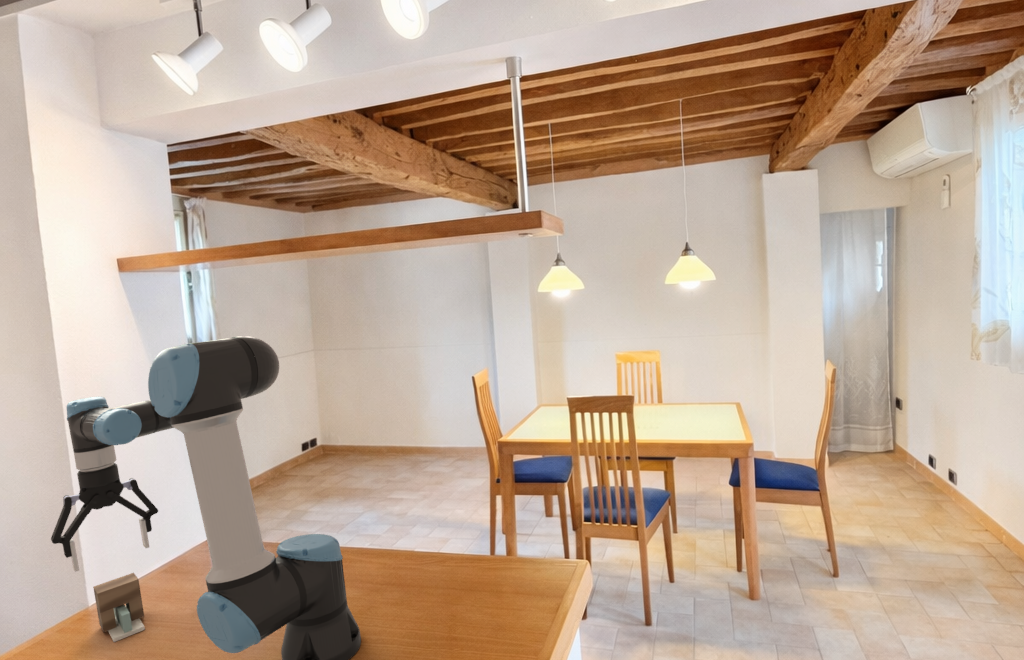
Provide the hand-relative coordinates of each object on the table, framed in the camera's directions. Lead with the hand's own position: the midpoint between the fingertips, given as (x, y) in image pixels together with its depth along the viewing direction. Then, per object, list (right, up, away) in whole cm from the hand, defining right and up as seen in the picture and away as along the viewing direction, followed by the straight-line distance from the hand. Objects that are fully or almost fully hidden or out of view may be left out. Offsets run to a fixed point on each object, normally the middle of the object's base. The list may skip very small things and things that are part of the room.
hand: (112, 557), depth 139 cm
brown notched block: (+1, -15, +2) cm, 15 cm away
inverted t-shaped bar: (+1, -16, +2) cm, 16 cm away
